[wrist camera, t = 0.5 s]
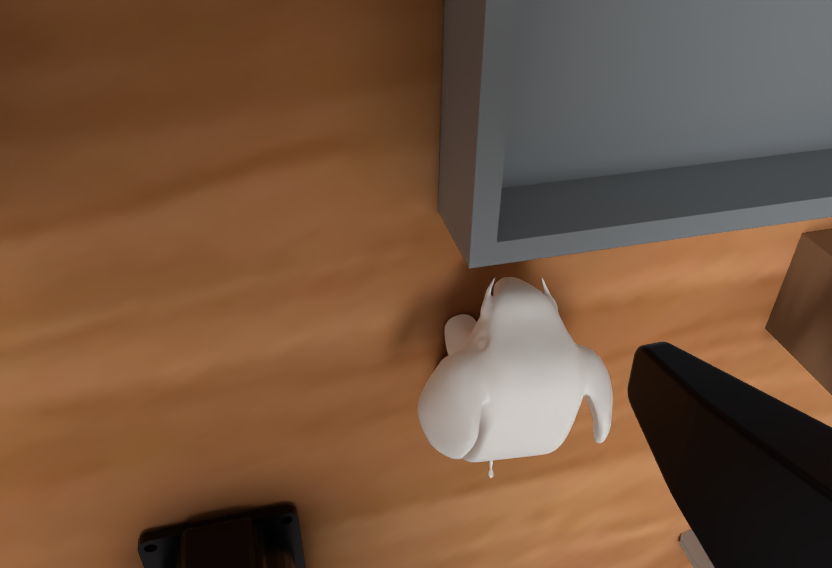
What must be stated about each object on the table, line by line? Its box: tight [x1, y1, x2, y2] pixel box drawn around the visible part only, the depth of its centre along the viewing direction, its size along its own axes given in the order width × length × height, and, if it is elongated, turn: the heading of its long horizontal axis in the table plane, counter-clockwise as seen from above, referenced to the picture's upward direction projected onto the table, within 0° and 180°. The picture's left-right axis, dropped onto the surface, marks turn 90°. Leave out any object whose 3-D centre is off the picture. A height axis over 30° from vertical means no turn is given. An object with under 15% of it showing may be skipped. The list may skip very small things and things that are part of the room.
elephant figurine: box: [417, 277, 613, 478], centre depth 25 cm, size 7×8×6 cm
